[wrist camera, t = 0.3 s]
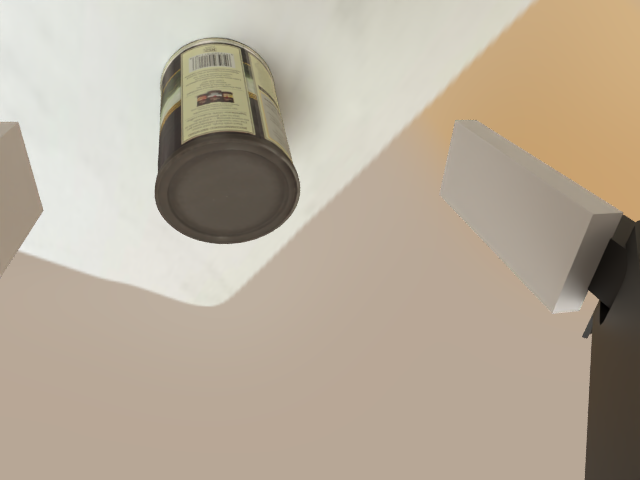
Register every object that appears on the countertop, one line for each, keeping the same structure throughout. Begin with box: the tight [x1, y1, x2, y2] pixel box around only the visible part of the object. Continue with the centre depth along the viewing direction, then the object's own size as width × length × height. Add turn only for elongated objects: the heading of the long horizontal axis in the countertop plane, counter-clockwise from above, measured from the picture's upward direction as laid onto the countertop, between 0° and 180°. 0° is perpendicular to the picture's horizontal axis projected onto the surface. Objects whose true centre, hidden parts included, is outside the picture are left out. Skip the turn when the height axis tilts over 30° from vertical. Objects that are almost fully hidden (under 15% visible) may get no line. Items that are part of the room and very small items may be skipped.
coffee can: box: [155, 38, 300, 244], centre depth 38 cm, size 10×10×14 cm
